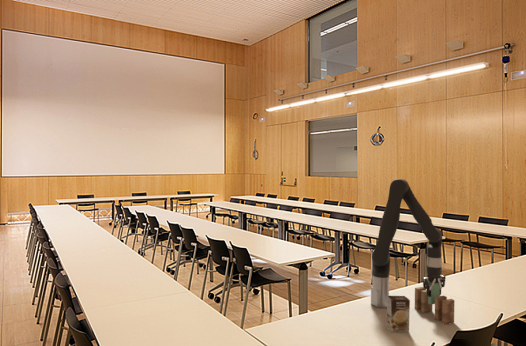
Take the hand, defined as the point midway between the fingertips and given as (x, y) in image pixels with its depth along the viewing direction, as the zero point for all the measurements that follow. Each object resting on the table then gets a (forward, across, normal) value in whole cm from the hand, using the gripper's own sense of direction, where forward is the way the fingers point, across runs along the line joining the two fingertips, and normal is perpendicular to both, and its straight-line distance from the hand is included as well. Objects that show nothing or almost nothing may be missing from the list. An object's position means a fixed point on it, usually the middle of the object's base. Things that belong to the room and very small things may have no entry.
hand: (433, 295), depth 201 cm
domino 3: (+4, 0, 0) cm, 4 cm away
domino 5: (+11, 0, +10) cm, 15 cm away
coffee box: (+11, +30, +8) cm, 33 cm away
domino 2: (+11, 0, -5) cm, 12 cm away
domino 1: (+11, 0, -10) cm, 15 cm away
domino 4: (+11, 0, +5) cm, 12 cm away
